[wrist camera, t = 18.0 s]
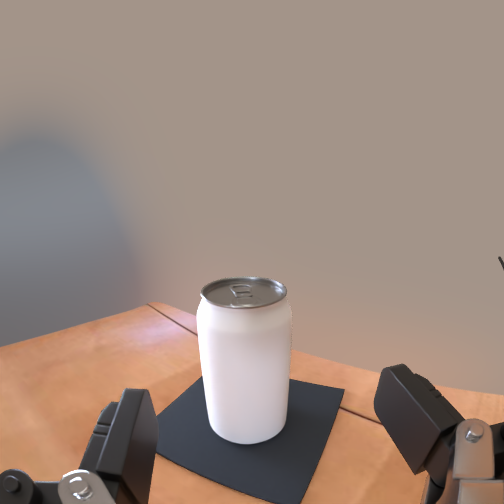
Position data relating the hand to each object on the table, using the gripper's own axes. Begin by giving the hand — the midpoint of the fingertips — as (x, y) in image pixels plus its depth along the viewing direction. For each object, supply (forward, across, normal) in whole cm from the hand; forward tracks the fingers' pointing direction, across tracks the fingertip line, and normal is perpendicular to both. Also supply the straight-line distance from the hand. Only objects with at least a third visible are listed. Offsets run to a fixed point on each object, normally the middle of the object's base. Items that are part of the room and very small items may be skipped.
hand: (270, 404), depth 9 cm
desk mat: (+11, 0, +12) cm, 16 cm away
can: (+11, 0, +12) cm, 16 cm away
